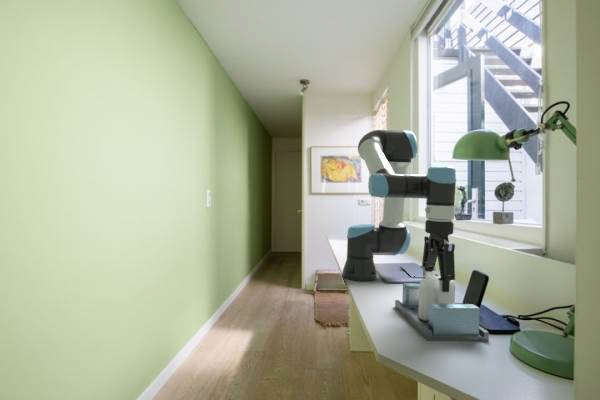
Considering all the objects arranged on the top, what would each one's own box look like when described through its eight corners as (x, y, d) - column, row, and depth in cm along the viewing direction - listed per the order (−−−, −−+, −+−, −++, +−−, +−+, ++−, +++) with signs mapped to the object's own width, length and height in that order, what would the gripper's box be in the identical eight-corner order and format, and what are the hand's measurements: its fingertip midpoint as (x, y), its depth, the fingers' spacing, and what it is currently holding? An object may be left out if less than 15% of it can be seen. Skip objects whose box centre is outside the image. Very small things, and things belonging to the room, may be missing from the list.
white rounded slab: (447, 315, 96) (448, 274, 96) (456, 320, 92) (458, 278, 92) (415, 316, 94) (417, 274, 94) (423, 322, 90) (425, 278, 90)
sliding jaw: (402, 304, 104) (402, 283, 104) (438, 305, 105) (439, 283, 105) (405, 308, 101) (406, 286, 101) (442, 308, 102) (443, 286, 101)
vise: (395, 306, 105) (395, 282, 105) (442, 307, 106) (443, 283, 106) (427, 340, 81) (428, 309, 81) (488, 340, 82) (489, 309, 82)
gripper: (412, 216, 103) (409, 286, 104) (444, 223, 82) (440, 310, 83) (435, 216, 103) (432, 286, 104) (472, 224, 83) (468, 311, 84)
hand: (436, 297), depth 94 cm, fingers open, 8 cm apart
